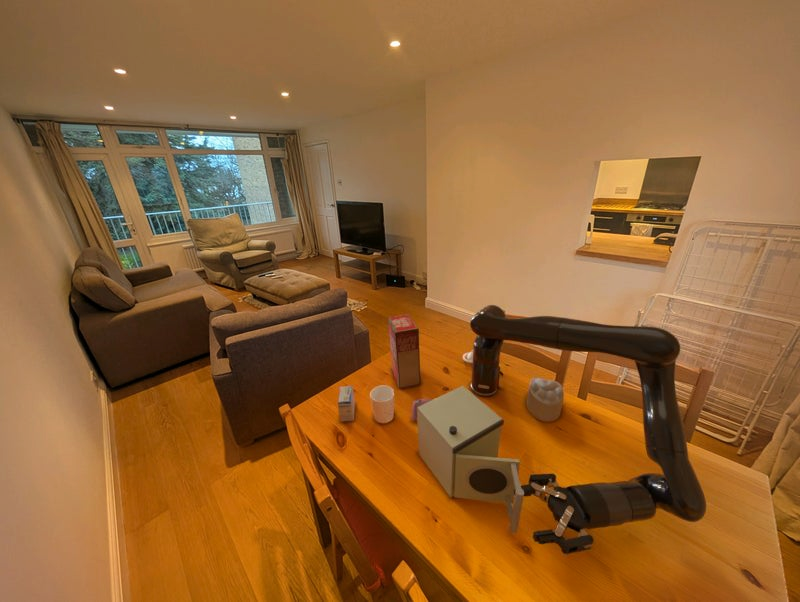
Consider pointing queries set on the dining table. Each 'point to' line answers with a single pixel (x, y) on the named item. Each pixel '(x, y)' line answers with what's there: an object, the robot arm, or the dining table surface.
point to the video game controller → (417, 404)
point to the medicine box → (346, 403)
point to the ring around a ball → (468, 357)
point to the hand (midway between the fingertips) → (523, 513)
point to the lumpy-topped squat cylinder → (545, 399)
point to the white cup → (382, 403)
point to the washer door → (490, 482)
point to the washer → (456, 433)
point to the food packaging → (405, 350)
